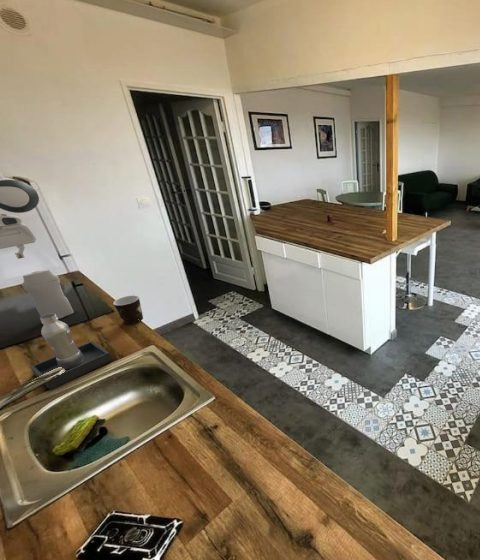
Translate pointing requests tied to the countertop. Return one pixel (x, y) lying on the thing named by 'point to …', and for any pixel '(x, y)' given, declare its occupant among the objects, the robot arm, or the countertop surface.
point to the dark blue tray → (92, 360)
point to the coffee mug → (129, 309)
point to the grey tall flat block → (47, 293)
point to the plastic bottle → (61, 341)
